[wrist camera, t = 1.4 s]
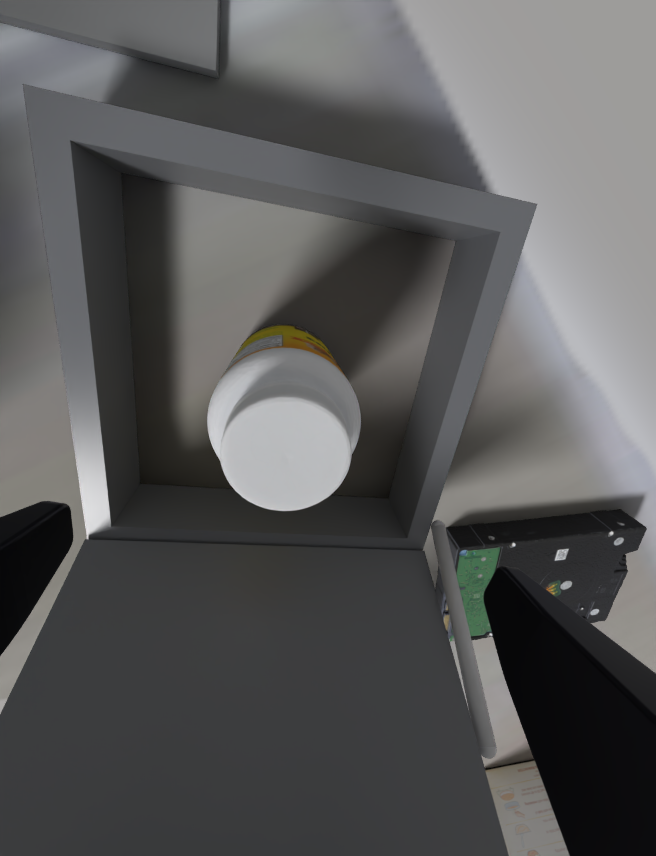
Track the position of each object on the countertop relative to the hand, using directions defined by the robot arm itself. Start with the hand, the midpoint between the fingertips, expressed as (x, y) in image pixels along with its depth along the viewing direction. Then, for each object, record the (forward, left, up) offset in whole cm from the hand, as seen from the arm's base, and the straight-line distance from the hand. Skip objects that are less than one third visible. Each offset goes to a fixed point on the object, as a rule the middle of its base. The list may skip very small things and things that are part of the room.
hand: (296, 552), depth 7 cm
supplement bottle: (0, 0, -14) cm, 14 cm away
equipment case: (0, -2, -14) cm, 14 cm away
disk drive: (+21, -14, -14) cm, 29 cm away
